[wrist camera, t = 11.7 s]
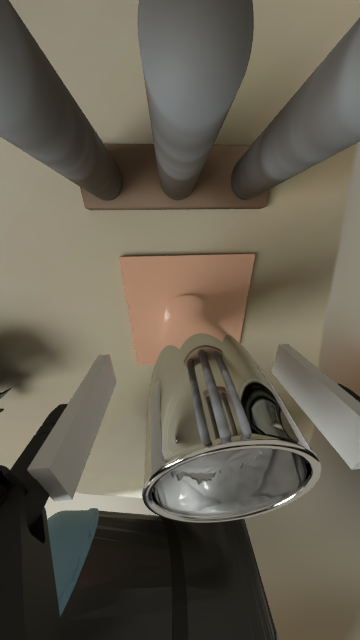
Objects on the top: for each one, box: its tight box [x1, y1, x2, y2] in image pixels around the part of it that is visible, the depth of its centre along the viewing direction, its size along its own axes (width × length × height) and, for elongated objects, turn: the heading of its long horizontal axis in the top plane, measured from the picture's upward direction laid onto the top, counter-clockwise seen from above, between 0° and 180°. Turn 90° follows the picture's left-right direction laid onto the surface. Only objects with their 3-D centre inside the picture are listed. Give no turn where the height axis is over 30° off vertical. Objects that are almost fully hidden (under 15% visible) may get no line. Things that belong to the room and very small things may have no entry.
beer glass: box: [142, 295, 322, 523], centre depth 13 cm, size 7×7×15 cm
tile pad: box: [119, 254, 255, 365], centre depth 19 cm, size 14×14×1 cm
